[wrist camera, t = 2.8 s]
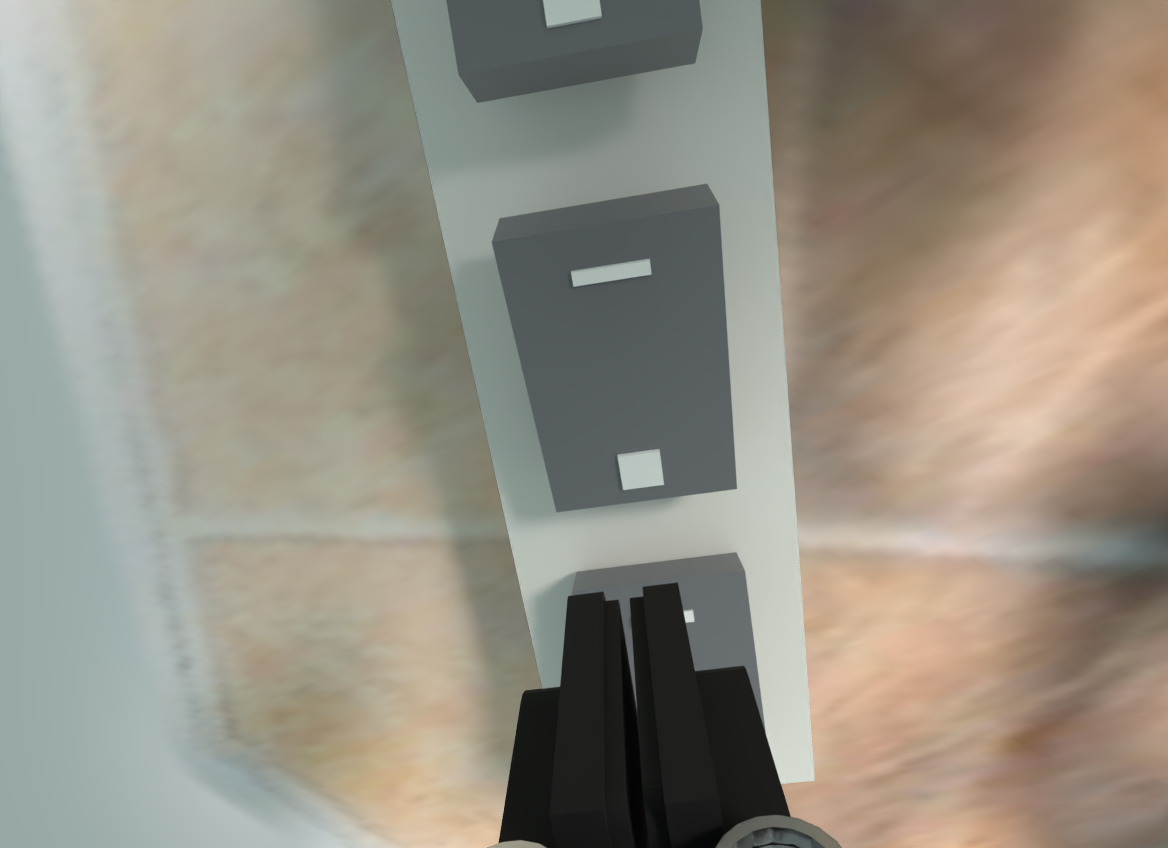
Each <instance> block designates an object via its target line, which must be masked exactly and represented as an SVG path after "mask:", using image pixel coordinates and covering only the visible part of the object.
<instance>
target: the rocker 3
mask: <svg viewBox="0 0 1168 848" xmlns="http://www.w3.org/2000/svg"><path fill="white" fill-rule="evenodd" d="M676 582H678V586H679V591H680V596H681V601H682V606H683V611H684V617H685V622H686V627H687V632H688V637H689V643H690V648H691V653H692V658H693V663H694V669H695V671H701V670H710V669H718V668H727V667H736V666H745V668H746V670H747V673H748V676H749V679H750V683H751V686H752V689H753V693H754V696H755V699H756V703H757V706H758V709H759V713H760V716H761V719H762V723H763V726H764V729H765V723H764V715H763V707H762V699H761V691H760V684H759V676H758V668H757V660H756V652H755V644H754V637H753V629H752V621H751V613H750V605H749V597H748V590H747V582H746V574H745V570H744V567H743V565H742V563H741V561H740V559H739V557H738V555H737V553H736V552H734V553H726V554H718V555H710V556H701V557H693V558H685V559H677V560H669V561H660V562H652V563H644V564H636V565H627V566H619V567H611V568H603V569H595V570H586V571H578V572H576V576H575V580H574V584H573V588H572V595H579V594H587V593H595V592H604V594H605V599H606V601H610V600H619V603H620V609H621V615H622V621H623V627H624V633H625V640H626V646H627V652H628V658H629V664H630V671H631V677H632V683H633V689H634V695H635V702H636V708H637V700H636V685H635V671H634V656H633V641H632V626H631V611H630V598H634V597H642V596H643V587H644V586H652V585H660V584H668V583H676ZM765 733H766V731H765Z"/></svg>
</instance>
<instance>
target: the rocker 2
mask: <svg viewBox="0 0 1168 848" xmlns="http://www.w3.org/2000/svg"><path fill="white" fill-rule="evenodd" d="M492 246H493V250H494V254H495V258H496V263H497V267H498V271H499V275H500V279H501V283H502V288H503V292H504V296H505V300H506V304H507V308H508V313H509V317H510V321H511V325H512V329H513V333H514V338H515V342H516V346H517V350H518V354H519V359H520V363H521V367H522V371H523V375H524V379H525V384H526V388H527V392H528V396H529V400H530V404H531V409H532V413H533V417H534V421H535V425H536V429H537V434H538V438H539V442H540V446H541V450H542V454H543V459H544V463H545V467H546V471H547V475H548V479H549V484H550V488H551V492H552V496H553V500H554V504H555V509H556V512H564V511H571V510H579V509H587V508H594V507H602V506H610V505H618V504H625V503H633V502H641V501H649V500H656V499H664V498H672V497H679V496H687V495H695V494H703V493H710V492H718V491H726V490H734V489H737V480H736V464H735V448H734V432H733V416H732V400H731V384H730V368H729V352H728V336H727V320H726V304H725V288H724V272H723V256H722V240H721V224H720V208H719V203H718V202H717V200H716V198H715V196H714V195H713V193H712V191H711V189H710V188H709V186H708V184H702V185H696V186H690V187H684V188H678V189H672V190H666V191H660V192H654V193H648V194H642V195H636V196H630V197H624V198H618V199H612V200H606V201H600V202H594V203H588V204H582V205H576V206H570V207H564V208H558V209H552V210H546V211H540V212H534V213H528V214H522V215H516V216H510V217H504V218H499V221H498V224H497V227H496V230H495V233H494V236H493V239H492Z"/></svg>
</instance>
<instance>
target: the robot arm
mask: <svg viewBox="0 0 1168 848" xmlns="http://www.w3.org/2000/svg"><path fill="white" fill-rule="evenodd" d="M630 611H631V626H632V641H633V656H634V671H635V685H636V700H637V708H636V702H635V695H634V689H633V683H632V677H631V671H630V664H629V658H628V652H627V646H626V640H625V633H624V627H623V621H622V615H621V609H620V603H619V600H610V601H606V599H605V594H604V592H595V593H587V594H579V595H571V596H568V599H567V610H566V622H565V634H564V646H563V658H562V670H561V682H560V687H552V688H544V689H535V690H526V691H525V692H524V693H523V695H522V699H521V704H520V711H519V717H518V723H517V730H516V736H515V743H514V749H513V755H512V762H511V768H510V774H509V781H508V787H507V793H506V800H505V806H504V813H503V819H502V825H501V832H500V838H499V843H498V844H495V845H493V846H490V847H488V848H842V847H841V846H840V844H839V843H838V842H837V841H836V840H835V839H834V838H832V837H831V836H830V835H828V834H827V833H826V832H825V831H823V830H822V829H821V828H819V827H817V826H815V825H813V824H810V823H808V822H806V821H803V820H801V819H799V818H793V817H791V816H790V813H789V810H788V806H787V803H786V800H785V796H784V793H783V790H782V786H781V783H780V780H779V776H778V773H777V770H776V766H775V763H774V760H773V756H772V753H771V750H770V746H769V743H768V739H767V736H766V733H765V729H764V726H763V723H762V719H761V716H760V713H759V709H758V706H757V703H756V699H755V696H754V693H753V689H752V686H751V683H750V679H749V676H748V673H747V670H746V668H745V666H736V667H727V668H718V669H710V670H701V671H695V669H694V663H693V658H692V653H691V648H690V643H689V637H688V632H687V627H686V622H685V617H684V611H683V606H682V601H681V596H680V591H679V586H678V582H676V583H668V584H660V585H652V586H644V587H643V596H642V597H634V598H630Z"/></svg>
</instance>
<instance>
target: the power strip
mask: <svg viewBox="0 0 1168 848" xmlns="http://www.w3.org/2000/svg"><path fill="white" fill-rule="evenodd" d="M699 2H700V10H701V19H702V27H703V30H702V35H701V40H700V44H699V49H698V53H697V58H696V62H695V64H689V65H684V66H678V67H673V68H667V69H662V70H656V71H651V72H645V73H640V74H634V75H629V76H623V77H618V78H612V79H607V80H601V81H596V82H590V83H585V84H579V85H574V86H568V87H563V88H557V89H552V90H546V91H541V92H535V93H530V94H524V95H519V96H513V97H508V98H502V99H497V100H491V101H486V102H480V103H477V102H476V100H475V99H474V97H473V96H472V94H471V93H470V91H469V90H468V88H467V87H466V85H465V84H464V82H463V81H462V79H461V78H460V76H459V75H458V70H457V63H456V57H455V51H454V45H453V38H452V32H451V26H450V20H449V13H448V7H447V1H446V0H391V4H392V8H393V13H394V17H395V22H396V27H397V31H398V36H399V40H400V45H401V49H402V54H403V58H404V63H405V67H406V72H407V76H408V81H409V86H410V90H411V95H412V99H413V104H414V108H415V113H416V117H417V122H418V126H419V131H420V136H421V140H422V145H423V149H424V154H425V158H426V163H427V167H428V172H429V176H430V181H431V185H432V190H433V195H434V199H435V204H436V208H437V213H438V217H439V222H440V226H441V231H442V235H443V240H444V245H445V249H446V254H447V258H448V263H449V267H450V272H451V276H452V281H453V285H454V290H455V294H456V299H457V304H458V308H459V313H460V317H461V322H462V326H463V331H464V335H465V340H466V344H467V349H468V354H469V358H470V363H471V367H472V372H473V376H474V381H475V385H476V390H477V394H478V399H479V403H480V408H481V413H482V417H483V422H484V426H485V431H486V435H487V440H488V444H489V449H490V453H491V458H492V463H493V467H494V472H495V476H496V481H497V485H498V490H499V494H500V499H501V503H502V508H503V512H504V517H505V522H506V526H507V531H508V535H509V540H510V544H511V549H512V553H513V558H514V562H515V567H516V571H517V576H518V581H519V585H520V590H521V594H522V599H523V603H524V608H525V612H526V617H527V621H528V626H529V631H530V635H531V640H532V644H533V649H534V653H535V658H536V662H537V667H538V671H539V676H540V680H541V685H542V689H544V688H552V687H560V682H561V670H562V658H563V646H564V634H565V622H566V610H567V599H568V596H571V595H572V588H573V584H574V580H575V576H576V572H578V571H586V570H595V569H603V568H611V567H619V566H627V565H636V564H644V563H652V562H660V561H669V560H677V559H685V558H693V557H701V556H710V555H718V554H726V553H734V552H736V553H737V555H738V557H739V559H740V561H741V563H742V565H743V567H744V570H745V574H746V582H747V590H748V597H749V605H750V613H751V621H752V629H753V637H754V644H755V652H756V660H757V668H758V676H759V684H760V691H761V699H762V707H763V715H764V723H765V731H766V736H767V739H768V743H769V746H770V750H771V753H772V756H773V760H774V763H775V766H776V770H777V773H778V776H779V780H780V783H781V784H784V783H794V782H805V781H815V779H814V765H813V751H812V736H811V722H810V707H809V693H808V678H807V664H806V649H805V635H804V620H803V606H802V591H801V577H800V562H799V548H798V534H797V519H796V505H795V490H794V476H793V461H792V447H791V432H790V418H789V403H788V389H787V374H786V360H785V345H784V331H783V317H782V302H781V288H780V273H779V259H778V244H777V230H776V215H775V201H774V186H773V172H772V157H771V143H770V128H769V114H768V100H767V85H766V71H765V56H764V42H763V27H762V13H761V0H699ZM702 184H708V186H709V188H710V189H711V191H712V193H713V195H714V196H715V198H716V200H717V202H718V203H719V208H720V224H721V240H722V256H723V272H724V288H725V304H726V320H727V336H728V352H729V368H730V384H731V400H732V416H733V432H734V448H735V464H736V480H737V489H734V490H726V491H718V492H710V493H703V494H695V495H687V496H679V497H672V498H664V499H656V500H649V501H641V502H633V503H625V504H618V505H610V506H602V507H594V508H587V509H579V510H571V511H564V512H556V509H555V504H554V500H553V496H552V492H551V488H550V484H549V479H548V475H547V471H546V467H545V463H544V459H543V454H542V450H541V446H540V442H539V438H538V434H537V429H536V425H535V421H534V417H533V413H532V409H531V404H530V400H529V396H528V392H527V388H526V384H525V379H524V375H523V371H522V367H521V363H520V359H519V354H518V350H517V346H516V342H515V338H514V333H513V329H512V325H511V321H510V317H509V313H508V308H507V304H506V300H505V296H504V292H503V288H502V283H501V279H500V275H499V271H498V267H497V263H496V258H495V254H494V250H493V246H492V239H493V236H494V233H495V230H496V227H497V224H498V221H499V218H504V217H510V216H516V215H522V214H528V213H534V212H540V211H546V210H552V209H558V208H564V207H570V206H576V205H582V204H588V203H594V202H600V201H606V200H612V199H618V198H624V197H630V196H636V195H642V194H648V193H654V192H660V191H666V190H672V189H678V188H684V187H690V186H696V185H702Z"/></svg>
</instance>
